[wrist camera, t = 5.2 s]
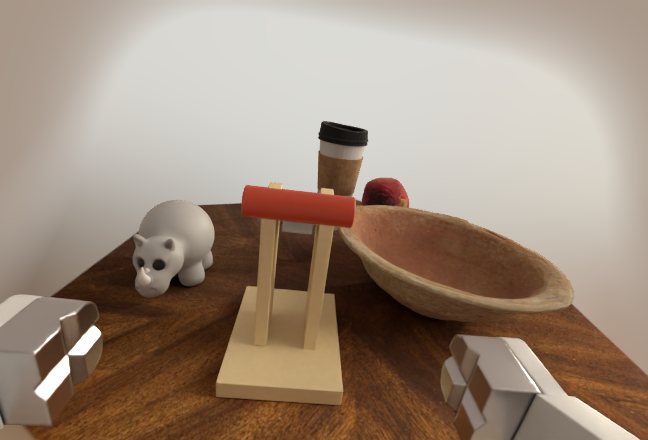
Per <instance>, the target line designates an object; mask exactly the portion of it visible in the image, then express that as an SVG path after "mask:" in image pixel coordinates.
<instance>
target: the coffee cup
mask: <svg viewBox="0 0 648 440" xmlns="http://www.w3.org/2000/svg"><path fill="white" fill-rule="evenodd" d="M318 138H319V139H320V150H319V157H318V193H320V191H321V188H326V189H333V191H334V195H338V196H347V197H352V196H353V193H354V189H355V185H356V181H357V178H358V174H359V171H360V167H361V163H362V160H363V157H362V154H363V151H364V146H366V145H367V142H368V131H367V130H365V129H361V128H357V127H352V126H347V125H342V124H338V123H333V122H327V121H324V122H322V123H321V128H320V132H319V137H318Z"/></svg>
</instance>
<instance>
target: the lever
mask: <svg viewBox="0 0 648 440" xmlns="http://www.w3.org/2000/svg"><path fill="white" fill-rule="evenodd" d="M355 208H356V202H355V198H354V197H347V196H338V195H329V194H321V193H312V192H303V191H294V190H285V189H276V188H267V187H257V186H250V185H247V186H245V188H244V192H243V197H242V215H243V216H244V217H251V218H260V219H269V220H279V221H282V231H283V232H292V233H302V234H312V232H313V224H317V225H326V226H335V227H345V228H351V227H352V225H353V222H354V217H355Z"/></svg>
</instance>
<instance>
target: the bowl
mask: <svg viewBox="0 0 648 440" xmlns="http://www.w3.org/2000/svg"><path fill="white" fill-rule="evenodd" d="M338 231H339V233H340V235H341V237H342V239H343V240H344V242H345V243H346V245H347V246H348V247H349V248H350V249H351V250H352V251H353V252H354V253H356V254H357V255H358V256H359V257H360V258H361V260H362V263H363V265H364V267H365V269H366V271H367V273H368V274H369V276H370V277H371V278H372V279H373V281H374V282H375V283H376V284H377V285H378V286H379V287H380V288H381V289H383V290H384V291H385V292H387V293H388V294H389V295H391V296H392V297H393V298H394V299H395V300H396V301H398V302H399V303H401V304H402V305H404V306H406V307H407V308H409V309H411V310H412V311H414V312H416V313H419V314H421V315H423V316H426V317H431V318H435V319H441V320H455V321H460V322H470V323H491V322H497V321H501V320H505V319H507V318H509V317H511V316H513V315H516V314H518V313H525V314H533V313H541V312H546V311H553V310H563V309H565V308H567V307H568V306H569V305H570V304H571V303H572V301H573V299H574V292H573V288H572V286H571V284H570V281H569V280H568V279H567V277H566V276H565V275H564V274H563V273H562V272H561V271H560V270H559V269H558V268H557V267H556V266H555V265H553V264H552V263H551V262H550V261H548V260H547V259H546V258H544V257H543V256H541V255H540V254H538V253H536V252H535V251H532V250H530V249H527V248H525V247H523V246H522V245H520V244H518V243H516V242H514V241H512V240H510V239H508V238H506V237H504V236H502V235H500V234H497V233H495V232H492V231H490V230H487V229H485V228H482V227H479V226H477V225H474V224H471V223H469V222H468V221H466V220H463V219H460V218H457V217H452V216H448V215H444V214H439V213H432V212H428V211H423V210H418V209H412V208H407V207H399V206H387V205H367V206H356V208H355V217H354V222H353V225H352V227H351V228H345V227H338Z"/></svg>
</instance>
